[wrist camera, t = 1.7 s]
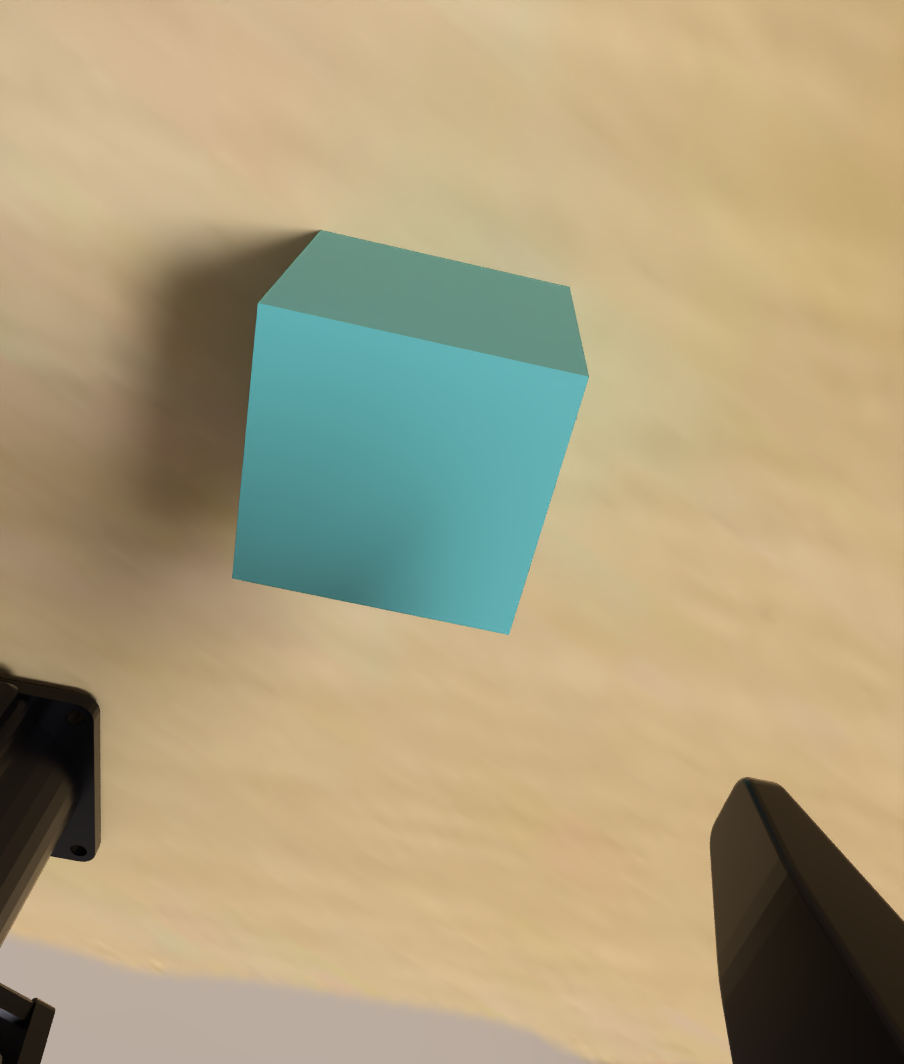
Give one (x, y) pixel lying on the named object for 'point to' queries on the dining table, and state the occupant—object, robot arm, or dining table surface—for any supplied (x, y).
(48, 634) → the dining table surface
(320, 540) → the teal cube
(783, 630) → the dining table surface
